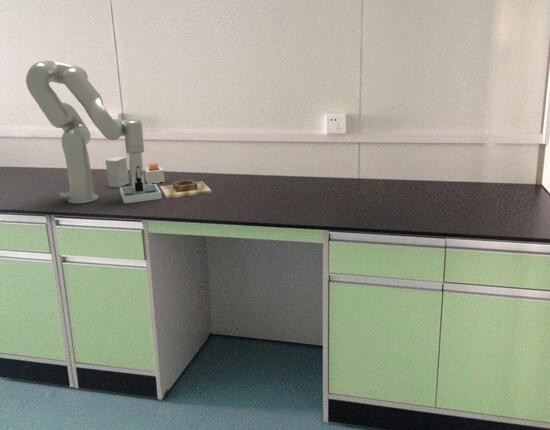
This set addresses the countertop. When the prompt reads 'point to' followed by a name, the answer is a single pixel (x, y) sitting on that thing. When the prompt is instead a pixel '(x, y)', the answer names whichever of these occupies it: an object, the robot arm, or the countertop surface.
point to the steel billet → (134, 185)
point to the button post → (154, 175)
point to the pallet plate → (185, 189)
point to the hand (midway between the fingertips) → (138, 189)
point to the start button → (153, 167)
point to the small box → (117, 171)
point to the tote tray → (140, 196)
